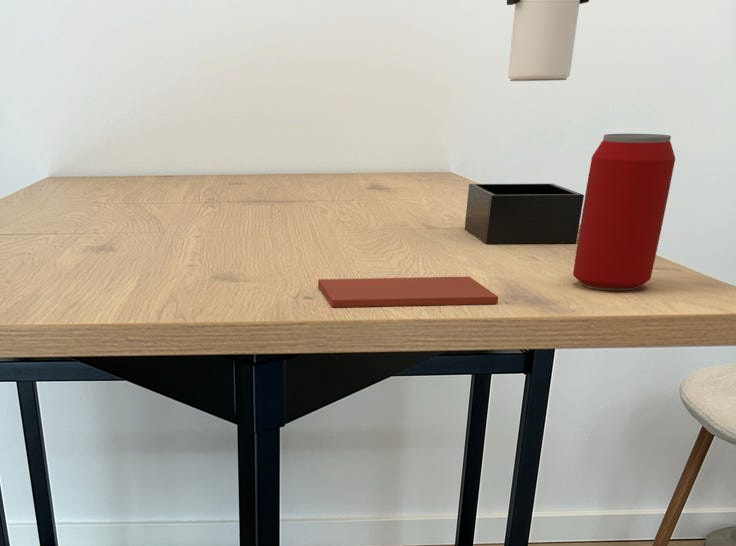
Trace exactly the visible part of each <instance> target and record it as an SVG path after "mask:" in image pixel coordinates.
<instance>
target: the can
mask: <svg viewBox="0 0 736 546" xmlns="http://www.w3.org/2000/svg"><path fill="white" fill-rule="evenodd" d="M579 3H580V0H520V2H518V3H516V4H514V14H513V23H512V32H511V42H510V52H509V61H508V73H507V77H508V78H509V79H510V82H540V81H541V82H544V81H545V82H547V81H567V79H568V78H569V77H570V74H571V69H572V63H573V54H574V48H575V47H574V46H575V40H576V32H577V25H578V17H579V10H580V4H579Z"/></svg>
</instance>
